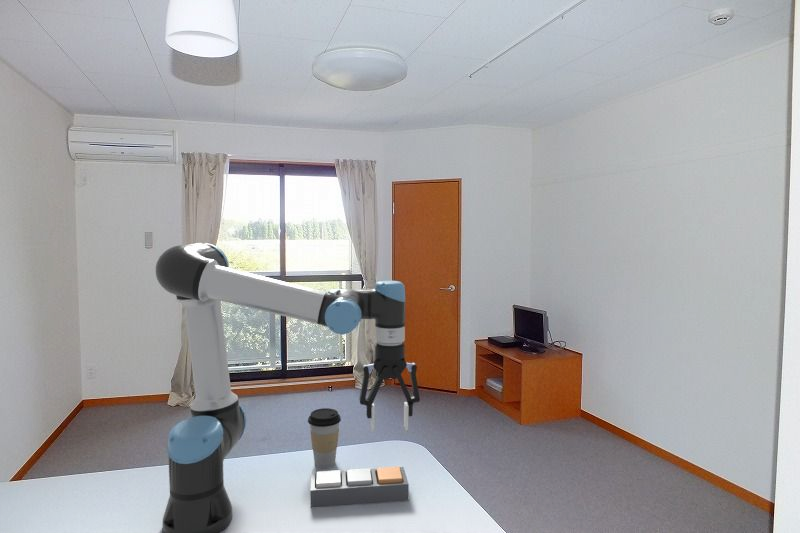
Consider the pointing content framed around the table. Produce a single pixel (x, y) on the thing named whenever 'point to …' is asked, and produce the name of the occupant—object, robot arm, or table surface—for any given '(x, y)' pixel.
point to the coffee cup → (324, 436)
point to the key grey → (359, 477)
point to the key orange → (389, 475)
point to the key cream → (328, 479)
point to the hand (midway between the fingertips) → (389, 428)
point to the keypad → (358, 492)
